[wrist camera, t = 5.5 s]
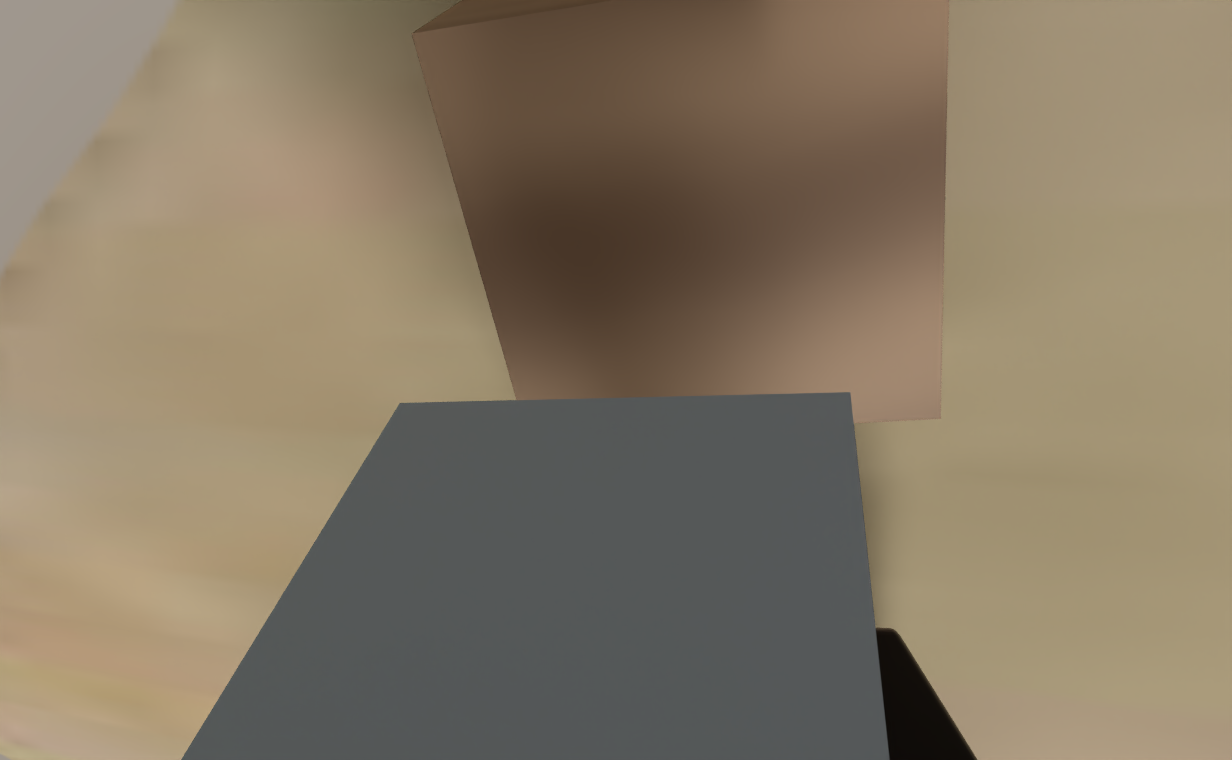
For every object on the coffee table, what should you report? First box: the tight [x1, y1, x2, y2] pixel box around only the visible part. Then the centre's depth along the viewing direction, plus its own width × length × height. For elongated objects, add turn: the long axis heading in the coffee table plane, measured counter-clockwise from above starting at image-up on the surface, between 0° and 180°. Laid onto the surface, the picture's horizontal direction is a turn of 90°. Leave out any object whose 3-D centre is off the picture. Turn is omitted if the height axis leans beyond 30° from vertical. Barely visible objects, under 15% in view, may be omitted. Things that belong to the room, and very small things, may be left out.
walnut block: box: [412, 0, 949, 423], centre depth 19 cm, size 9×9×4 cm
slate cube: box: [181, 392, 889, 760], centre depth 9 cm, size 5×5×5 cm
